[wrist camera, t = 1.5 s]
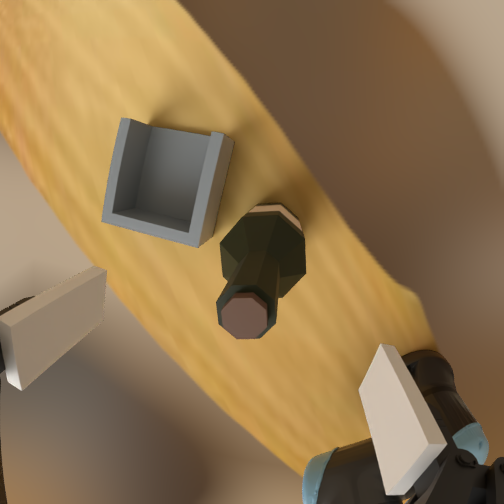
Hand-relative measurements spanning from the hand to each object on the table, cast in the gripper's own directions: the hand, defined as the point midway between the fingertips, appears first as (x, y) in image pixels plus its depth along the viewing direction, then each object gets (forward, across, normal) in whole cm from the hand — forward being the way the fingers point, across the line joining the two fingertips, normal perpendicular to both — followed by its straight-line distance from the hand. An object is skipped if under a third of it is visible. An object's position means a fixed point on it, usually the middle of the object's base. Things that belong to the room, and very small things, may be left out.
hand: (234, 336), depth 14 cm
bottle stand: (+32, +15, -4) cm, 36 cm away
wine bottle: (+33, 0, 0) cm, 33 cm away
